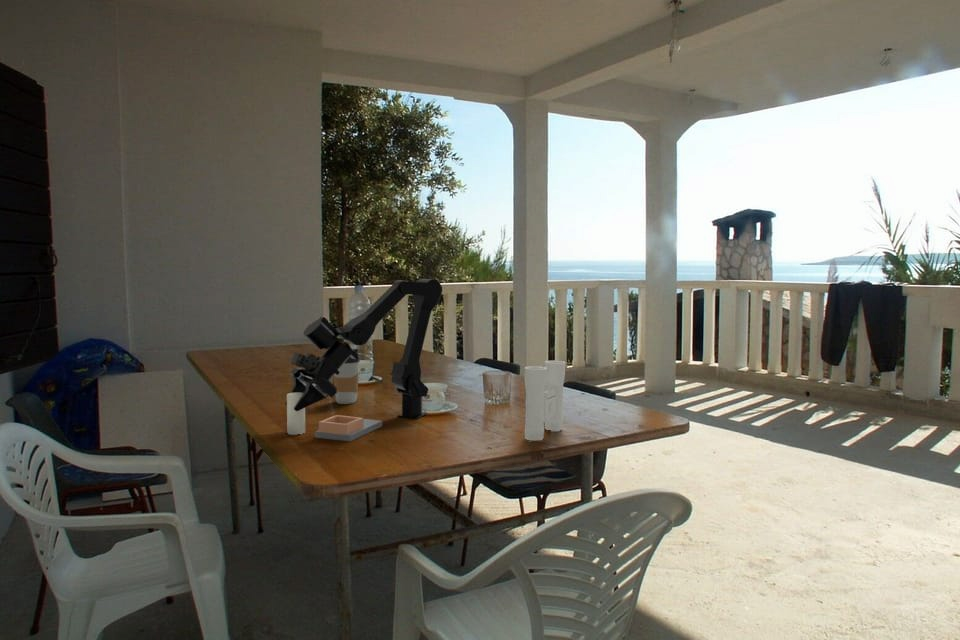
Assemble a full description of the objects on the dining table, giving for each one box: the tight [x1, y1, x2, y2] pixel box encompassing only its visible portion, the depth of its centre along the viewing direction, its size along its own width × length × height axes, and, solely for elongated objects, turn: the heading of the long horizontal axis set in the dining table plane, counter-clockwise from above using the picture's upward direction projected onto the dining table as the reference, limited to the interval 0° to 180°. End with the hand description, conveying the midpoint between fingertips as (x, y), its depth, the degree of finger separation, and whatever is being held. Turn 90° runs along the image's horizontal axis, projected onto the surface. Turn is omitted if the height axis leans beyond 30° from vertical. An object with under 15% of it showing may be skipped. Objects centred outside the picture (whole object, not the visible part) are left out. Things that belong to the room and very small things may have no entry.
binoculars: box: [524, 359, 566, 441], centre depth 169 cm, size 17×5×18 cm, turn 150°
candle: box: [286, 392, 306, 436], centre depth 168 cm, size 4×4×10 cm
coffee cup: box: [333, 356, 360, 405], centre depth 206 cm, size 8×8×15 cm
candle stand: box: [314, 414, 383, 442], centre depth 170 cm, size 16×10×4 cm, turn 160°
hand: (290, 407), depth 167 cm, fingers open, 6 cm apart
